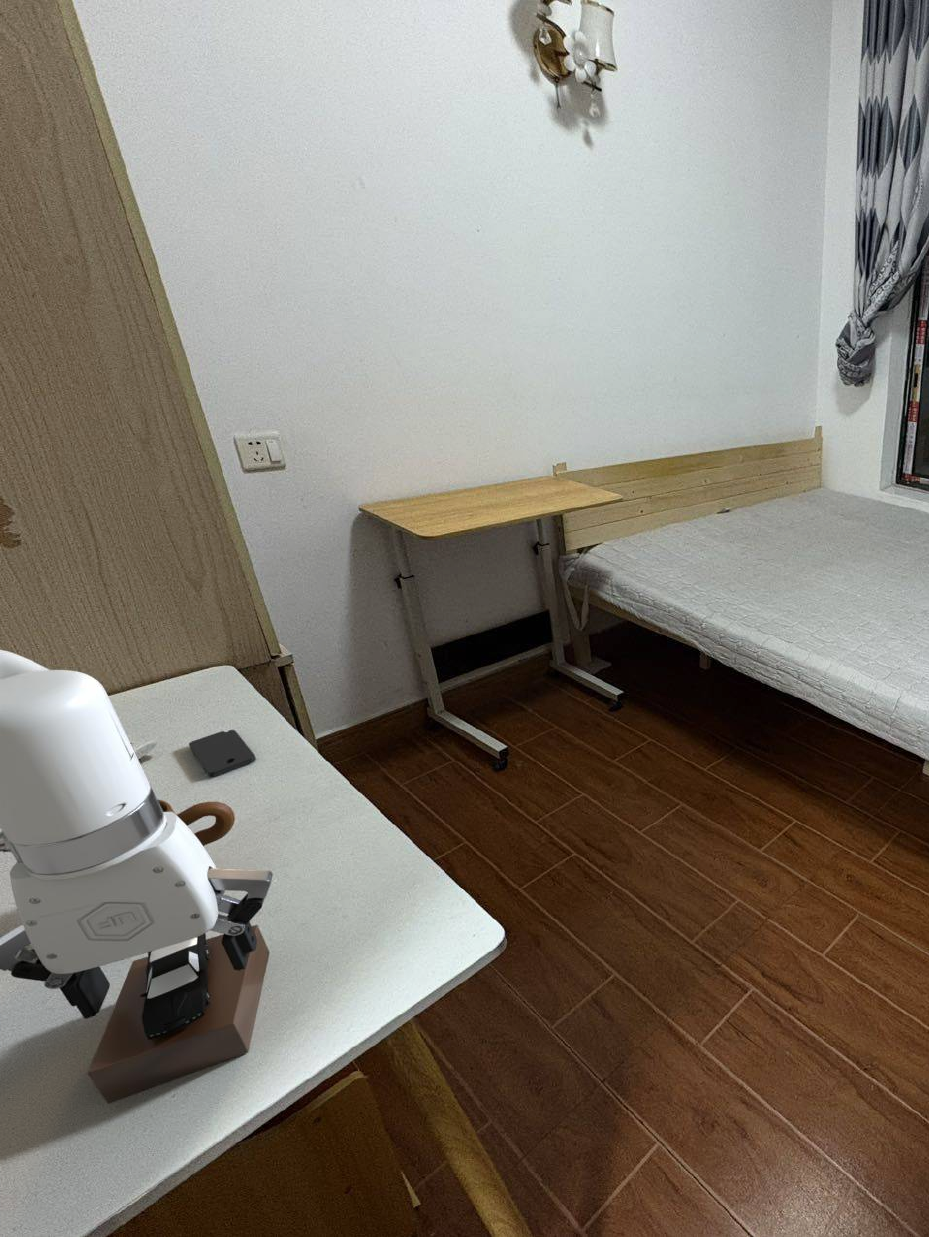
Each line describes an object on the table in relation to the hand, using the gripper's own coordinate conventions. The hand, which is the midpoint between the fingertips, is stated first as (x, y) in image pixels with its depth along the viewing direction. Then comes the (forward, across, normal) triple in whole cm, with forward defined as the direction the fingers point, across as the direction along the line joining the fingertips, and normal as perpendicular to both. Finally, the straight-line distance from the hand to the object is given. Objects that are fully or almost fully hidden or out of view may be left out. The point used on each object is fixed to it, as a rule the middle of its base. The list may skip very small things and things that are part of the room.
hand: (174, 978), depth 58 cm
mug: (+6, -5, +20) cm, 21 cm away
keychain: (+6, -6, +45) cm, 46 cm away
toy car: (+2, 0, 0) cm, 2 cm away
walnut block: (+6, 0, 0) cm, 6 cm away
